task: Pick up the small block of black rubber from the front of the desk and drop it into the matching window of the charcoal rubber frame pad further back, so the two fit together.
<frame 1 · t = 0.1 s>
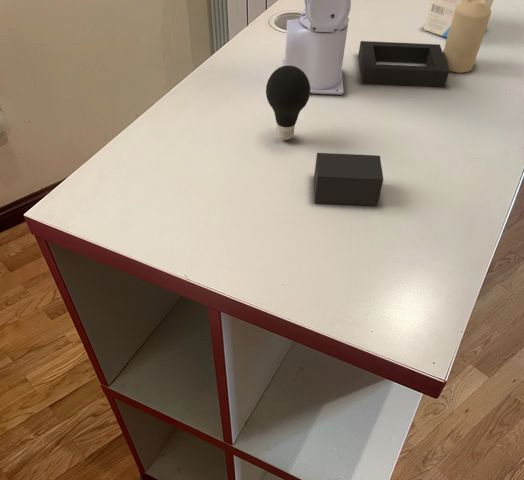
light bulb: (284, 141, 74), on the table
small block: (344, 192, 67), on the table
socket pad: (399, 71, 86), on the table
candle: (455, 66, 88), on the table
ink box: (453, 31, 97), on the table
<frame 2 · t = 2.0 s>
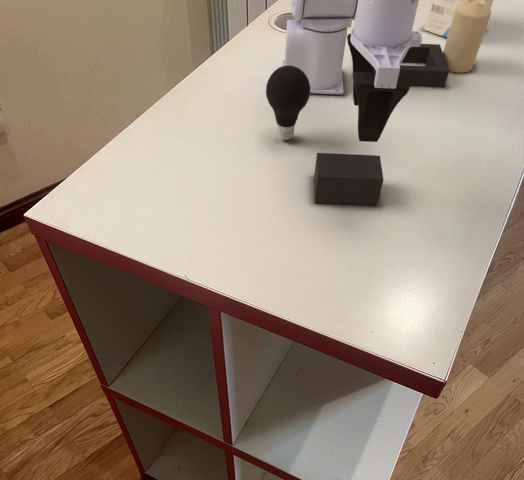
hand: (365, 121, 59), 10 cm above the table, tool pointing down, fingers open, 7 cm apart
nothing on the table moved.
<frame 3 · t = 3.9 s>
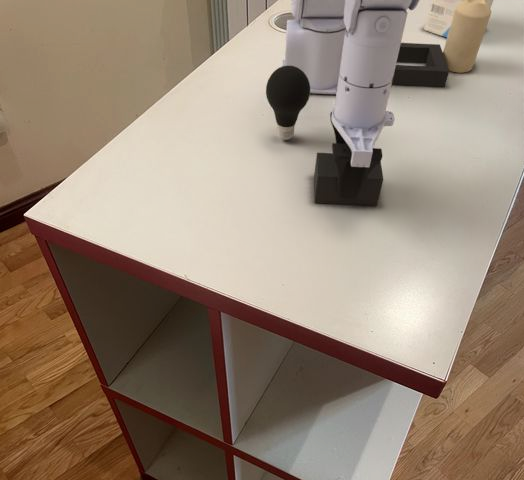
hand: (346, 183, 66), 1 cm above the table, tool pointing down, fingers closed on small block, 5 cm apart
small block: (344, 192, 67), on the table, touching gripper
everything else where it was.
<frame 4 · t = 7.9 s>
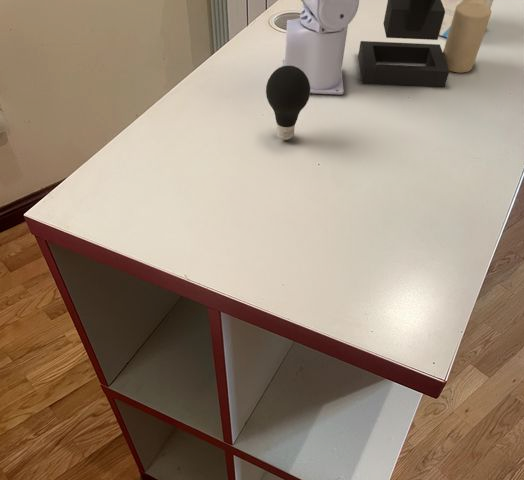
hand: (411, 22, 80), 8 cm above the table, tool pointing down, fingers closed on small block, 5 cm apart
small block: (409, 32, 81), point 6 cm above the table, touching gripper
everything else where it was.
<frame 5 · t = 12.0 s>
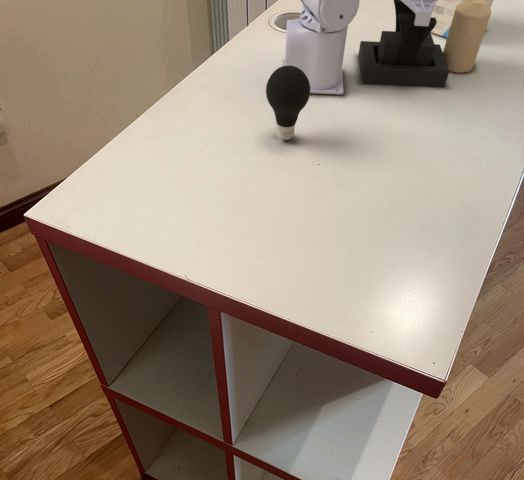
hand: (403, 55, 84), 2 cm above the table, tool pointing down, fingers closed on small block, 5 cm apart
small block: (402, 64, 86), point 1 cm above the table, touching gripper
everything else where it was.
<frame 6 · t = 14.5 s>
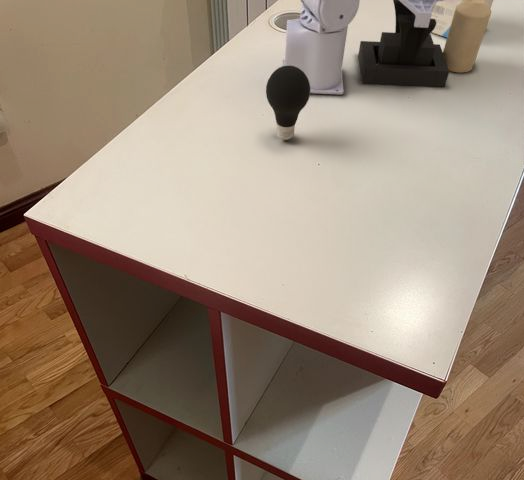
hand: (403, 56, 85), 2 cm above the table, tool pointing down, fingers closed on small block, 5 cm apart
small block: (402, 65, 86), point 1 cm above the table, touching gripper
everything else where it was.
when the fingers open (3 cm above the table, at t = 16.5 s): small block drops 2 cm, resting in socket pad.
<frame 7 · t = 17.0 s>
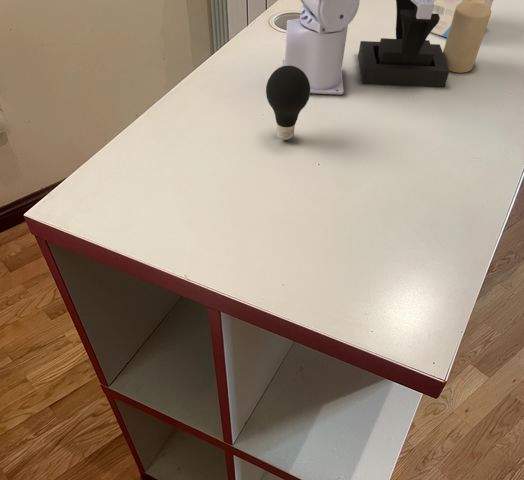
hand: (404, 49, 84), 3 cm above the table, tool pointing down, fingers open, 7 cm apart
small block: (400, 71, 86), resting in socket pad
everything else where it was.
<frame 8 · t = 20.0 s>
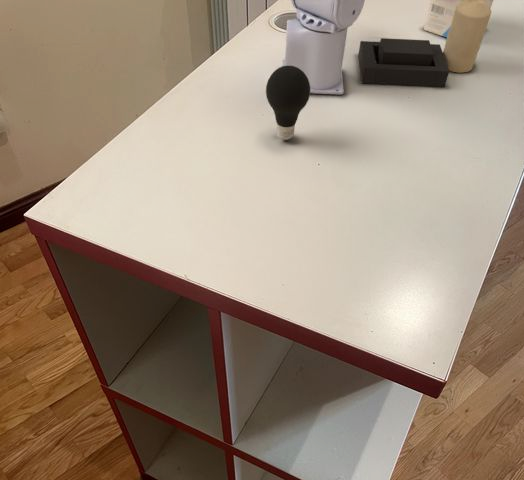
nothing on the table moved.
at the end: small block 0.2 cm off-centre on the socket pad, point 0.0 cm above the socket pad's base; small block tilted 0°; the gripper is holding nothing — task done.
